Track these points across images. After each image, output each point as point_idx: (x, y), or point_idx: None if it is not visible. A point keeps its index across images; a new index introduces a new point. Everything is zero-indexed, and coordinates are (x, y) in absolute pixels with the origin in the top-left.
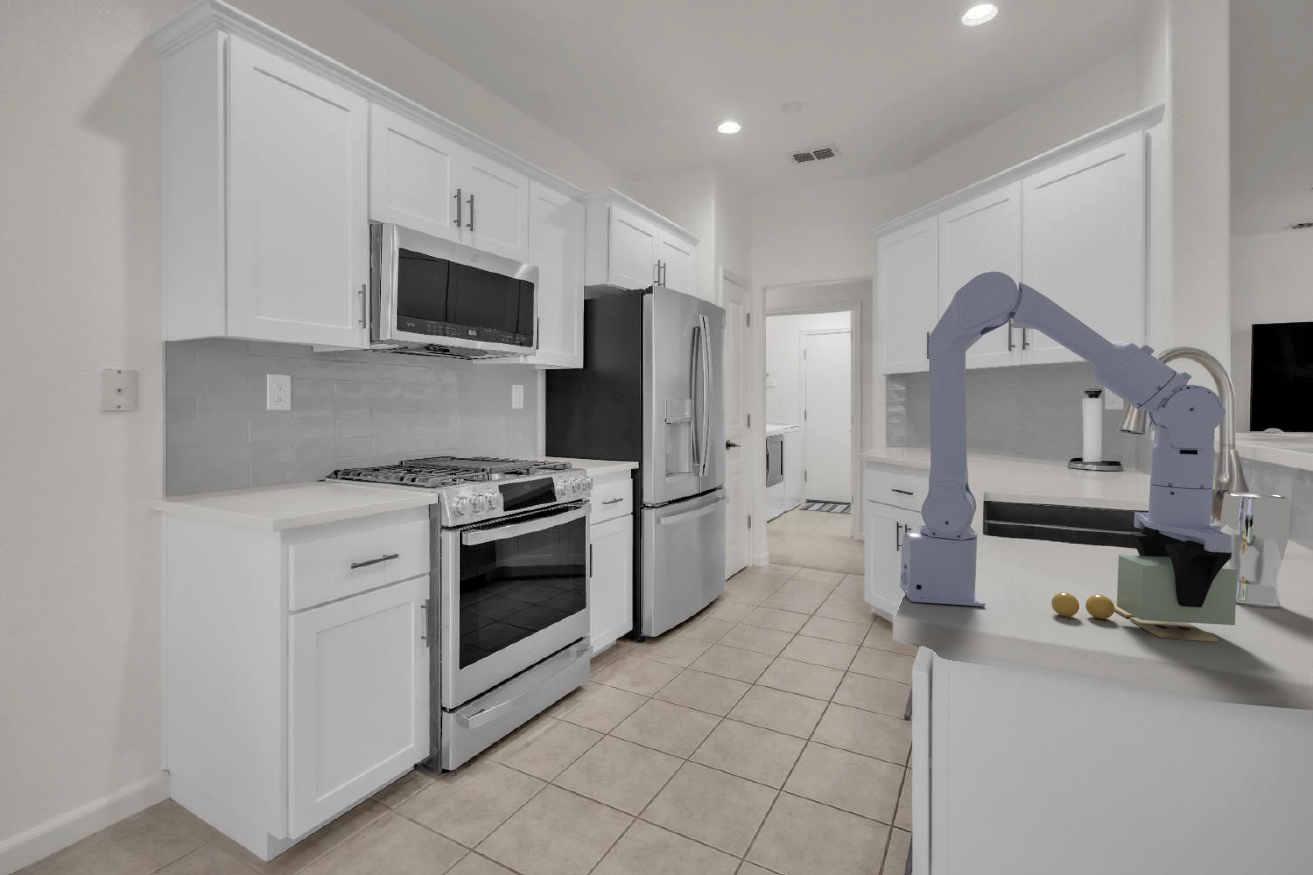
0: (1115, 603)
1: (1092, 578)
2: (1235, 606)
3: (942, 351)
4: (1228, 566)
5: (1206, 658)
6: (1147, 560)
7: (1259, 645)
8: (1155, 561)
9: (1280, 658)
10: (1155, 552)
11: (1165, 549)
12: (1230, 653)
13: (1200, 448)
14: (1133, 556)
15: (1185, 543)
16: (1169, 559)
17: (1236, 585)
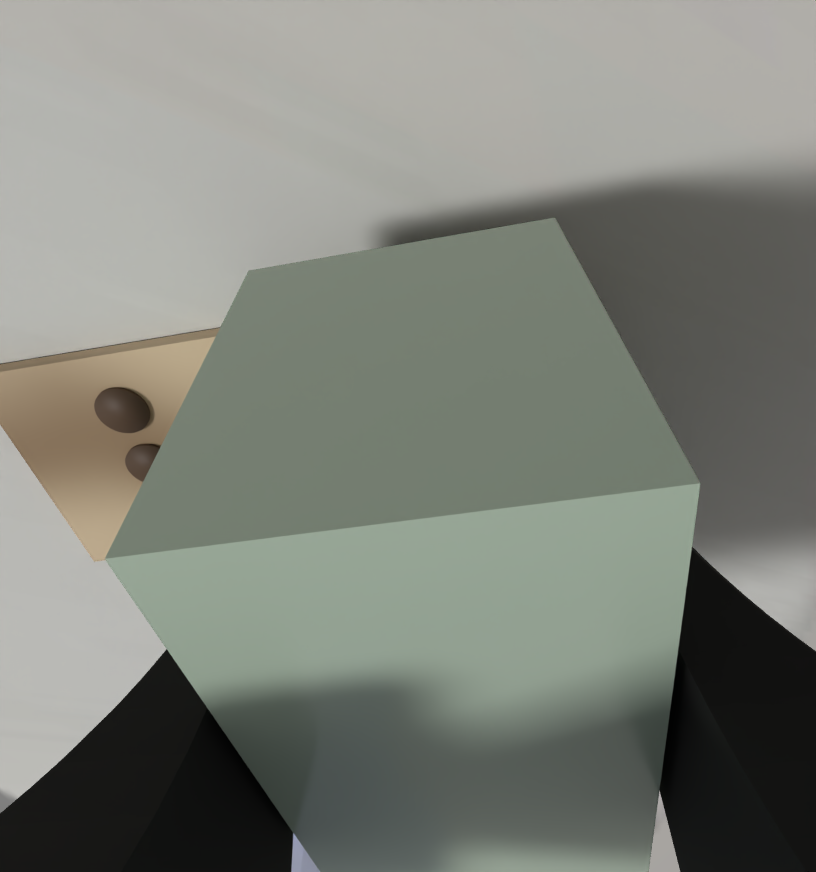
0: (114, 526)
1: None
2: (581, 270)
3: None
4: (547, 511)
5: (810, 413)
6: (469, 863)
7: (554, 39)
8: (489, 845)
9: (790, 34)
10: (263, 853)
11: (227, 857)
12: (733, 287)
13: None
14: None
15: (119, 868)
16: (373, 787)
17: (629, 362)
